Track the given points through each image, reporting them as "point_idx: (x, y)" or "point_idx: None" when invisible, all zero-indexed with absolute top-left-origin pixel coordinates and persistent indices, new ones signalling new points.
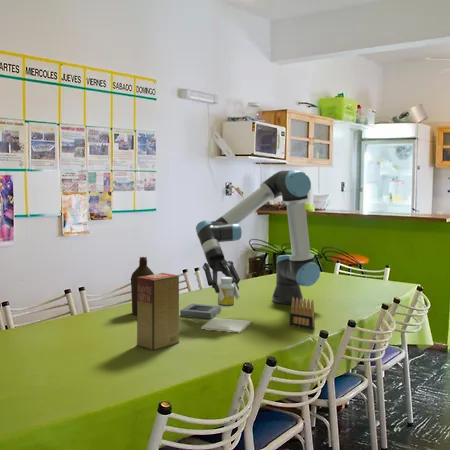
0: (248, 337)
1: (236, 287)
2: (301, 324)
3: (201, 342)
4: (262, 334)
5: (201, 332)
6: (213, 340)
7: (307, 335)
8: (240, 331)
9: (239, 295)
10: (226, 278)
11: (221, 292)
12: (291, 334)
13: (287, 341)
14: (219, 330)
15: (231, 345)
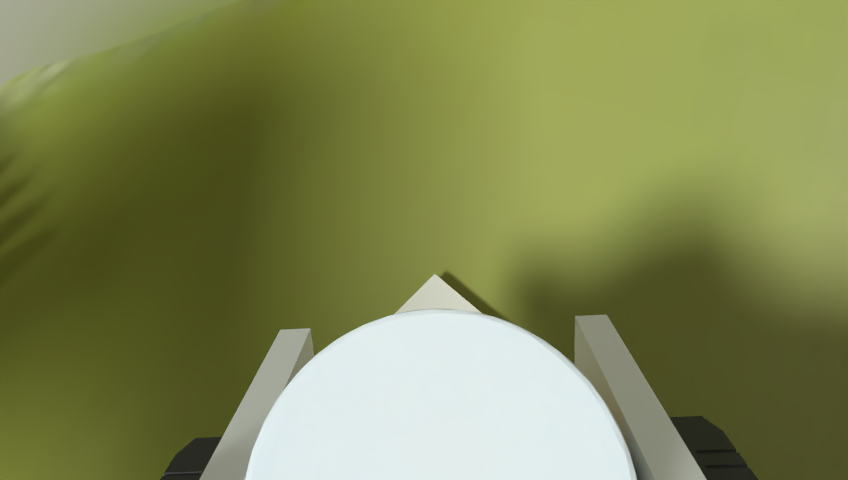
0: (423, 179)
1: (241, 426)
2: None
3: (803, 183)
4: (287, 208)
5: (754, 433)
6: (701, 196)
7: (36, 99)
8: (426, 284)
9: (292, 329)
10: (495, 385)
11: (624, 357)
12: (107, 146)
13: (239, 42)
14: None
15: (610, 74)
